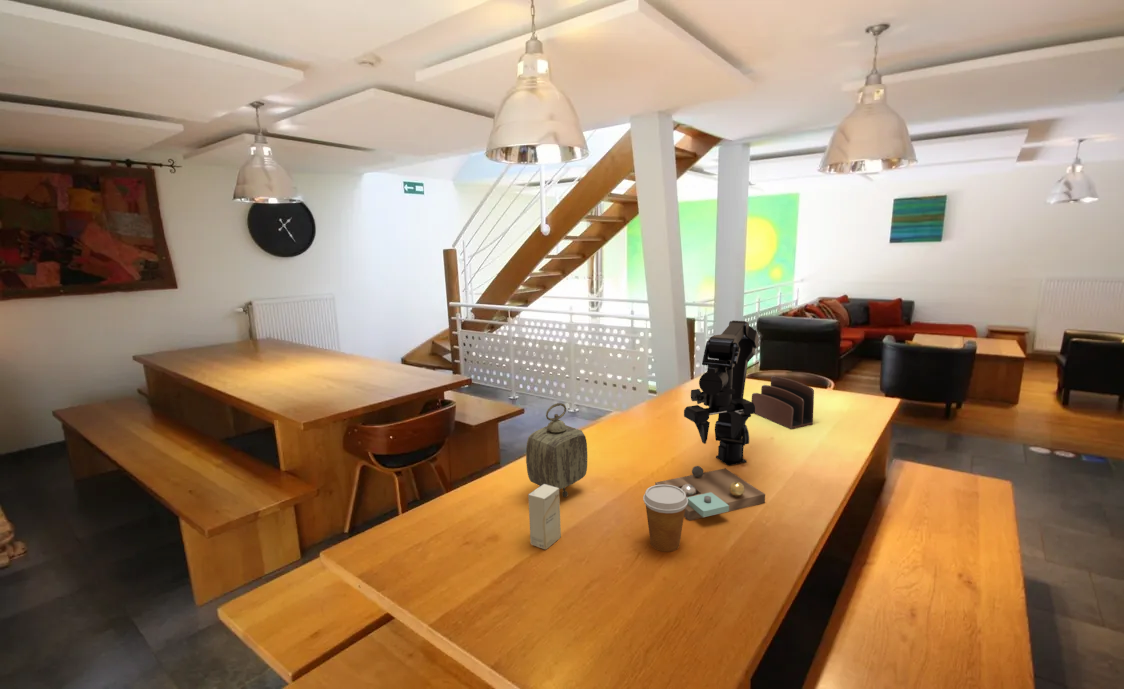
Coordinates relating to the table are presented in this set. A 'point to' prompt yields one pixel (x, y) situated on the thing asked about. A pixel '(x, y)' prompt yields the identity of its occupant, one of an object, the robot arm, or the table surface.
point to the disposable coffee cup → (665, 515)
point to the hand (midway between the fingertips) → (718, 440)
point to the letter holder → (785, 403)
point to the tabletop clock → (556, 454)
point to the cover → (707, 504)
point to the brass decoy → (736, 489)
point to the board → (718, 490)
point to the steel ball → (689, 490)
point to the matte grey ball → (697, 471)
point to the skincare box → (544, 516)
